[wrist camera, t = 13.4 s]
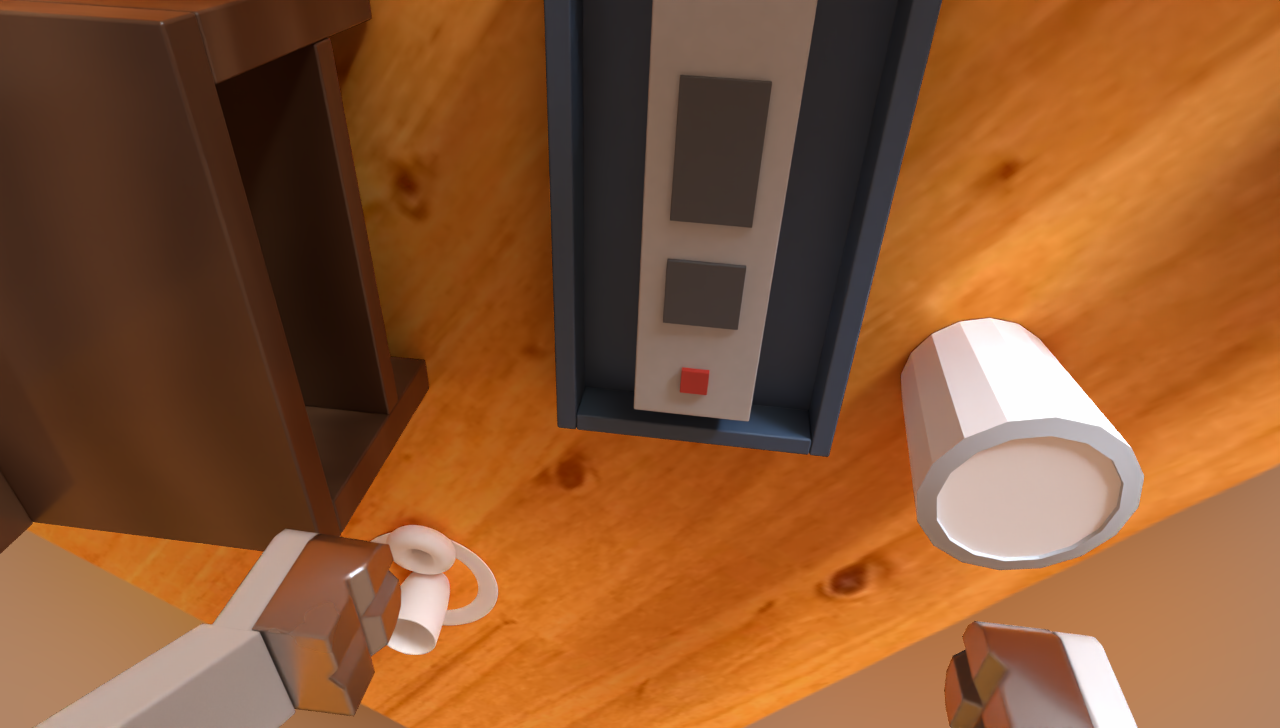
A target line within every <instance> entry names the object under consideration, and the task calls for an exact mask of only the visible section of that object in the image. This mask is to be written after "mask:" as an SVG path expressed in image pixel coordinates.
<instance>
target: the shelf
mask: <svg viewBox="0 0 1280 728" xmlns="http://www.w3.org/2000/svg"><path fill="white" fill-rule="evenodd" d="M370 19H371V10H370V4H369V0H0V553H2V552H3V551H4V550H5V549H6V548H7V547H8V546H9V545H10V544H11V543H12V542H13V541H14V540H16V539H17V538H18V537H19V536H20V535H21V534H22V533H23V532H24V531H25V530H26V529H27V528H29V527H30V526H31V525H32V524H33V522H37V523H45V524H53V525H61V526H69V527H77V528H85V529H92V530H100V531H108V532H116V533H124V534H132V535H140V536H148V537H155V538H163V539H171V540H179V541H187V542H195V543H203V544H211V545H219V546H226V547H234V548H242V549H250V550H258V551H265V549H266V548H267V546H268V545H269V543H270V542H271V541H272V539H273V538H274V537H275V536H276V535H278V534H279V533H280V532H282V531H283V530H285V529H290V530H298V531H305V532H312V533H319V534H325V535H331V536H337V537H340V535H341V532H343V530H344V529H345V527H346V525H347V524H348V522H349V520H350V519H351V517H352V515H353V514H354V512H355V510H356V509H357V507H358V505H359V504H360V502H361V500H362V499H363V497H364V495H365V494H366V492H367V490H368V489H369V487H370V486H371V484H372V482H373V481H374V479H375V477H376V476H377V474H378V472H379V471H380V469H381V467H382V466H383V464H384V462H385V461H386V459H387V457H388V456H389V454H390V452H391V451H392V449H393V447H394V446H395V444H396V442H397V441H398V439H399V437H400V436H401V434H402V432H403V431H404V429H405V428H406V426H407V424H408V423H409V421H410V419H411V418H412V416H413V414H414V413H415V411H416V409H417V408H418V406H419V404H420V403H421V401H422V399H423V398H424V396H425V394H426V393H427V391H428V389H429V383H428V377H427V371H426V364H425V360H419V359H409V358H400V357H390V353H389V348H388V343H387V337H386V332H385V327H384V321H383V316H382V311H381V306H380V300H379V295H378V290H377V284H376V279H375V274H374V268H373V263H372V258H371V252H370V247H369V242H368V236H367V231H366V226H365V220H364V215H363V210H362V204H361V199H360V194H359V188H358V183H357V178H356V172H355V167H354V162H353V156H352V151H351V146H350V140H349V135H348V130H347V124H346V119H345V114H344V108H343V103H342V98H341V92H340V87H339V82H338V76H337V71H336V66H335V60H334V55H333V50H332V44H331V40H330V38H327V37H330V36H332V35H334V34H337V33H339V32H341V31H344V30H346V29H348V28H351V27H353V26H356V25H358V24H360V23H363V22H365V21H367V20H370Z"/></svg>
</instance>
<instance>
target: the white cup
mask: <svg viewBox="0 0 1280 728" xmlns="http://www.w3.org/2000/svg"><path fill="white" fill-rule="evenodd" d="M901 391H902V402H903V410H904V418H905V426H906V434H907V442H908V450H909V458H910V466H911V474H912V482H913V490H914V498H915V506H916V514H917V521H918V523H919V524H920V526H921V527H922V529H923V530H924V532H925V533H926V535H927V536H928V538H929V539H930V541H931V542H932V544H933V545H934V546H936V547H937V548H939V549H941V550H942V551H944V552H946V553H947V554H949V555H951V556H953V557H954V558H956V559H958V560H959V561H961V562H964V563H968V564H973V565H978V566H983V567H987V568H992V569H997V570H1011V569H1032V568H1043V567H1046V566H1049V565H1053V564H1056V563H1060V562H1063V561H1066V560H1070V559H1073V558H1076V557H1080V556H1082V555H1084V554H1086V553H1087V552H1089V551H1090V550H1092V549H1094V548H1095V547H1097V546H1099V545H1100V544H1102V543H1104V542H1105V541H1107V540H1108V539H1110V538H1112V537H1113V536H1115V535H1116V534H1117V533H1118V532H1119V530H1120V529H1121V528H1122V527H1123V525H1124V524H1125V523H1126V522H1127V521H1128V519H1129V518H1130V517H1131V516H1132V514H1133V513H1134V512H1135V511H1136V509H1137V508H1138V507H1139V501H1140V496H1141V491H1142V486H1143V481H1144V474H1143V472H1142V470H1141V468H1140V466H1139V463H1138V461H1137V459H1136V457H1135V455H1134V452H1133V450H1132V448H1131V447H1130V445H1129V444H1128V443H1127V442H1126V441H1125V440H1124V438H1123V437H1122V436H1121V435H1120V434H1119V432H1118V431H1117V430H1116V429H1115V428H1114V426H1113V425H1112V424H1111V423H1110V422H1109V421H1108V419H1107V418H1106V417H1105V416H1104V415H1103V413H1102V412H1101V411H1100V410H1099V409H1098V408H1097V406H1096V405H1095V404H1094V403H1093V402H1092V400H1091V399H1090V398H1089V397H1088V396H1087V395H1086V393H1085V392H1084V391H1083V390H1082V389H1081V387H1080V386H1079V385H1078V384H1077V383H1076V381H1075V380H1074V379H1073V378H1072V377H1071V376H1070V374H1069V373H1068V372H1067V371H1066V370H1065V368H1064V367H1063V366H1062V365H1061V364H1060V363H1059V361H1058V360H1057V359H1056V358H1055V357H1054V355H1053V354H1052V353H1051V352H1050V351H1049V350H1048V348H1047V347H1046V346H1045V345H1044V344H1043V342H1042V341H1041V340H1040V339H1039V338H1038V337H1036V336H1035V335H1034V334H1032V333H1031V332H1029V331H1028V330H1026V329H1025V328H1024V327H1022V326H1021V325H1019V324H1017V323H1012V322H1007V321H1002V320H998V319H993V318H985V319H977V320H969V321H960V322H957V323H955V324H953V325H951V326H948V327H946V328H944V329H942V330H940V331H937V332H935V333H933V334H931V335H930V336H929V337H928V338H927V339H926V340H925V341H923V342H922V343H921V344H920V345H919V346H918V347H917V348H916V349H915V350H914V351H913V352H912V353H911V354H910V356H909V358H908V361H907V363H906V365H905V367H904V369H903V371H902V373H901Z"/></svg>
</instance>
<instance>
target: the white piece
mask: <svg viewBox="0 0 1280 728" xmlns="http://www.w3.org/2000/svg"><path fill="white" fill-rule="evenodd" d="M370 542H376V543H382V544H389V546H390V549H391V552H392V556H393V559H394V560H393V561H394V562H395V563H397V564H398V565H400V566H401V567H403V568H405V569H407V570H410V571H413V572H412V573H411V574H410V575H409V576H408V577H407V578H406V579H405V581H404V582H403V583H402V585H401V586H400V588H401V607H400V611H399V616H398V620H397V624H396V627H395V629H394V631H393V634H392V636H391V638H390V640H389V643H388V644H387V645H388V646H389V647H391V648H392V649H394V650H396V651H399V652H402V653H404V654H408V655H411V654H412V655H420V654H425V653H428V652H430V651H432V650H433V649H434V647H435V645H436V643H437V640H438V637H439V634H440V631H441V627H442V625H462V624H467V623H471V622H474V621H476V620H478V619H480V618H482V617H484V616H485V615H487V614H488V613H489V612H490V611H491V610H492V608H493V607H494V605H495V604H496V601H497V598H498V586H497V582H496V579H495V577H494V575H493V573H492V571H491V570H490V568H489V567H488V566H487V565H486V563H485V562H484V561H483V560H482V559H481V558H480V557H478V556H477V555H476V554H475V553H473V552H472V551H471V550H469V549H468V548H466V547H464V546H463V545H461V544H459V543H457V542H455V541H453V540H450V539H448V538H447V537H446V536H445V535H444V534H442V533H440V532H439V531H437V530H434V529H432V528H429V527H425V526H420V525H406V526H402V527H399V528H397V529H396V530H394V531H393V532H391V533H387V534H384V535H381V536H379V537H377V538H375V539H373V540H372V541H370ZM455 558H457V559H459V560H460V561H461V562H463V563H464V564H465V565H466V566H467V567H468V568H469V569H470V570H471V571H472V572H473V574H474V575H475V577H476V579H477V582H478V594H477V596H476V598H475V600H474V601H473V602H472V603H470V604H469V605H467V606H465V607H463V608H459V609H454V610H447V607H448V602H449V597H450V584H449V580H448V578H447V577H446V576H445V575H444V574H443V573H442V572H445V571H447V570H448V569H450V568H451V567H452V565H453V564H454V562H455Z"/></svg>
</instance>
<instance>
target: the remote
mask: <svg viewBox="0 0 1280 728" xmlns="http://www.w3.org/2000/svg"><path fill="white" fill-rule="evenodd" d="M817 1H818V0H653V3H652V24H651V45H650V67H649V88H648V110H647V131H646V153H645V174H644V195H643V217H642V238H641V260H640V281H639V302H638V324H637V345H636V367H635V388H634V409H638V410H647V411H656V412H665V413H674V414H684V415H693V416H702V417H711V418H720V419H730V420H739V421H749V418H750V412H751V406H752V400H753V394H754V387H755V381H756V375H757V369H758V363H759V357H760V351H761V345H762V338H763V332H764V326H765V320H766V314H767V308H768V302H769V295H770V289H771V283H772V277H773V271H774V265H775V259H776V253H777V246H778V240H779V234H780V228H781V222H782V216H783V210H784V203H785V197H786V191H787V185H788V179H789V173H790V167H791V161H792V154H793V148H794V142H795V136H796V130H797V124H798V118H799V111H800V105H801V99H802V93H803V87H804V81H805V75H806V69H807V62H808V56H809V50H810V44H811V38H812V32H813V26H814V19H815V13H816V7H817Z"/></svg>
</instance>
